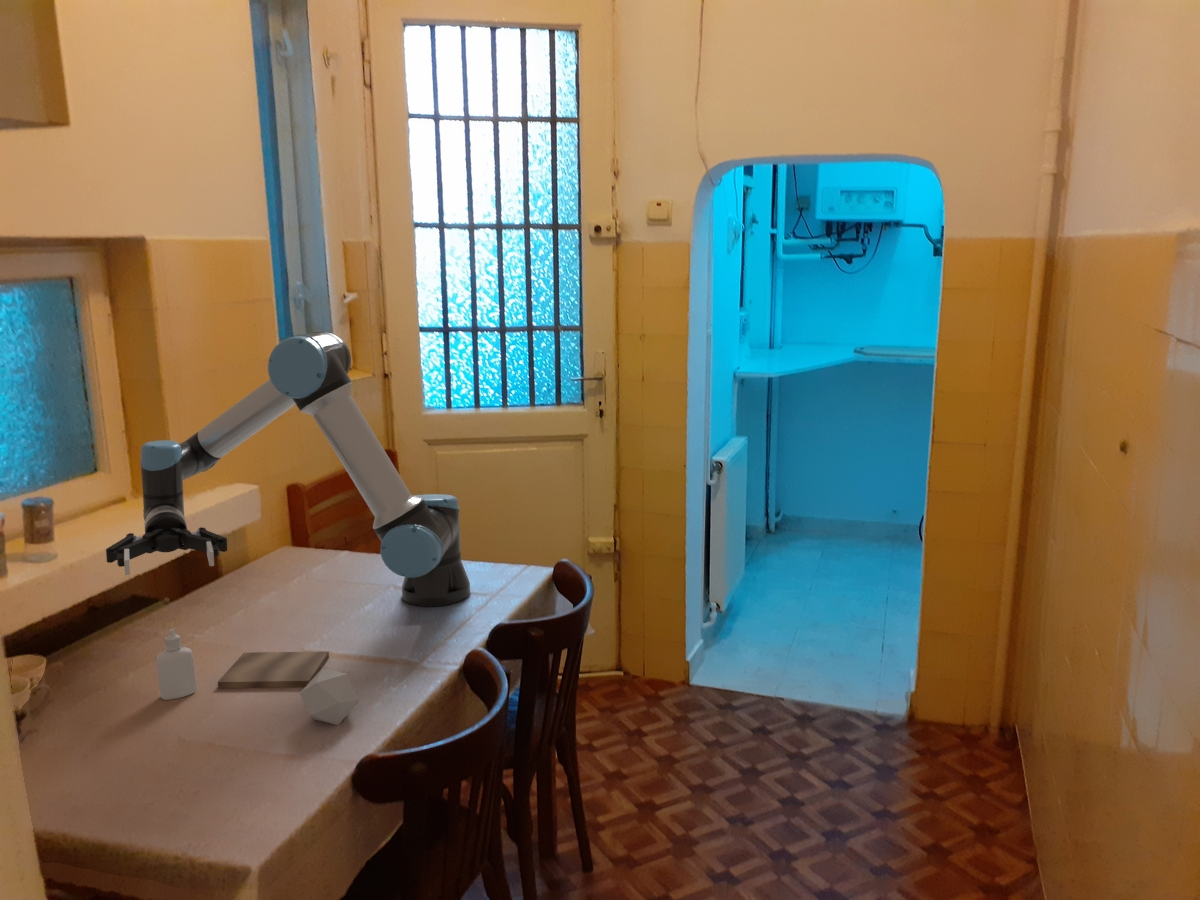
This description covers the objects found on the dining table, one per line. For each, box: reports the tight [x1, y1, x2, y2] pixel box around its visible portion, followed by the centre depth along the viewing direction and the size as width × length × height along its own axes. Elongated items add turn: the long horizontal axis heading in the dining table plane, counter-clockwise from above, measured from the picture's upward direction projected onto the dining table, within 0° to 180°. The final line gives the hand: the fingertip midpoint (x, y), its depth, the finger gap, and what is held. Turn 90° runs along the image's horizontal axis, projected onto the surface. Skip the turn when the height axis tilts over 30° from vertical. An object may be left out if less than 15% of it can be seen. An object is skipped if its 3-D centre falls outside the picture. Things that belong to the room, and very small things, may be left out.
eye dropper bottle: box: [155, 628, 197, 701], centre depth 150 cm, size 4×6×12 cm
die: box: [299, 668, 360, 726], centre depth 142 cm, size 8×9×10 cm
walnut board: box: [217, 650, 330, 689], centre depth 159 cm, size 16×12×1 cm
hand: (170, 563), depth 156 cm, fingers open, 13 cm apart
